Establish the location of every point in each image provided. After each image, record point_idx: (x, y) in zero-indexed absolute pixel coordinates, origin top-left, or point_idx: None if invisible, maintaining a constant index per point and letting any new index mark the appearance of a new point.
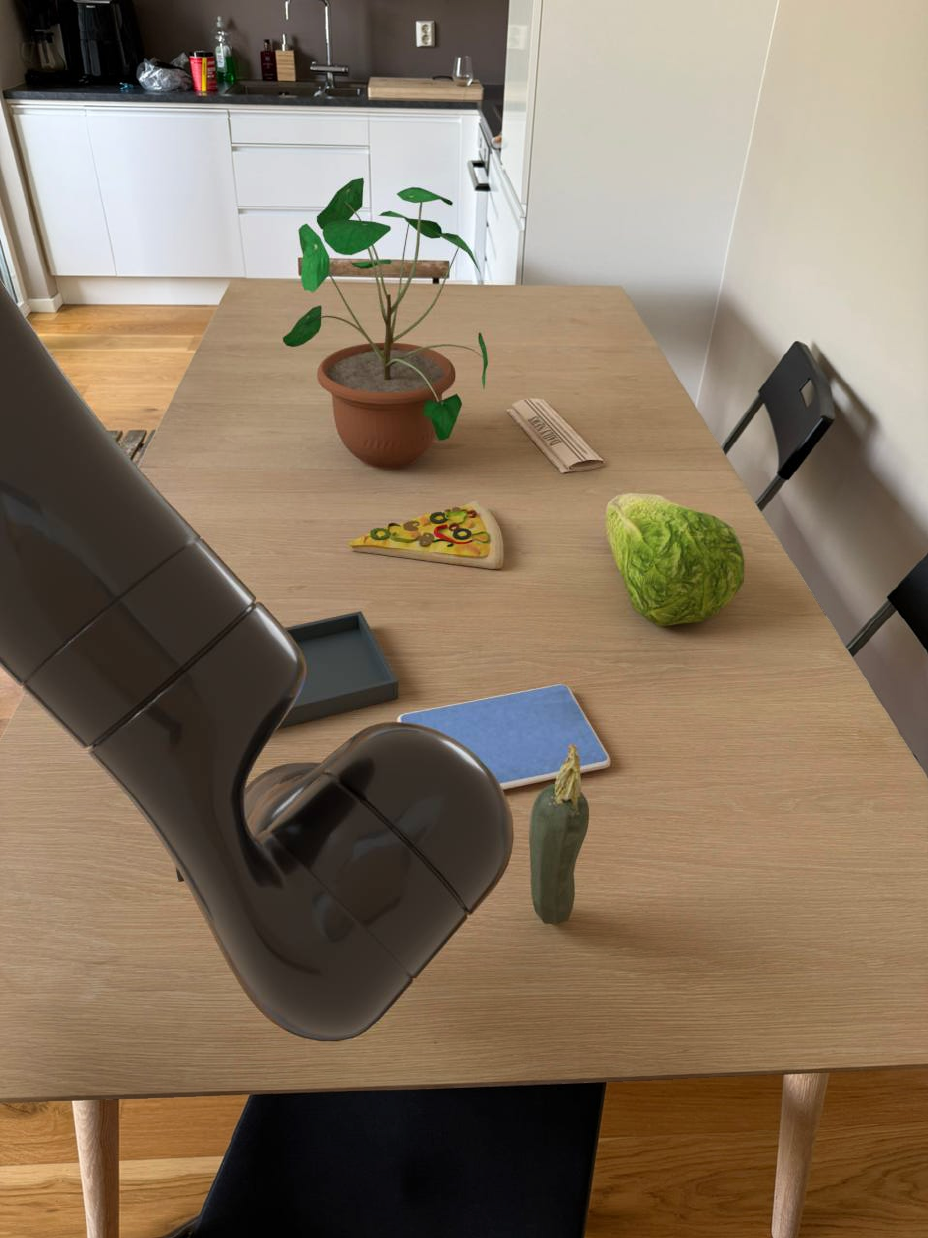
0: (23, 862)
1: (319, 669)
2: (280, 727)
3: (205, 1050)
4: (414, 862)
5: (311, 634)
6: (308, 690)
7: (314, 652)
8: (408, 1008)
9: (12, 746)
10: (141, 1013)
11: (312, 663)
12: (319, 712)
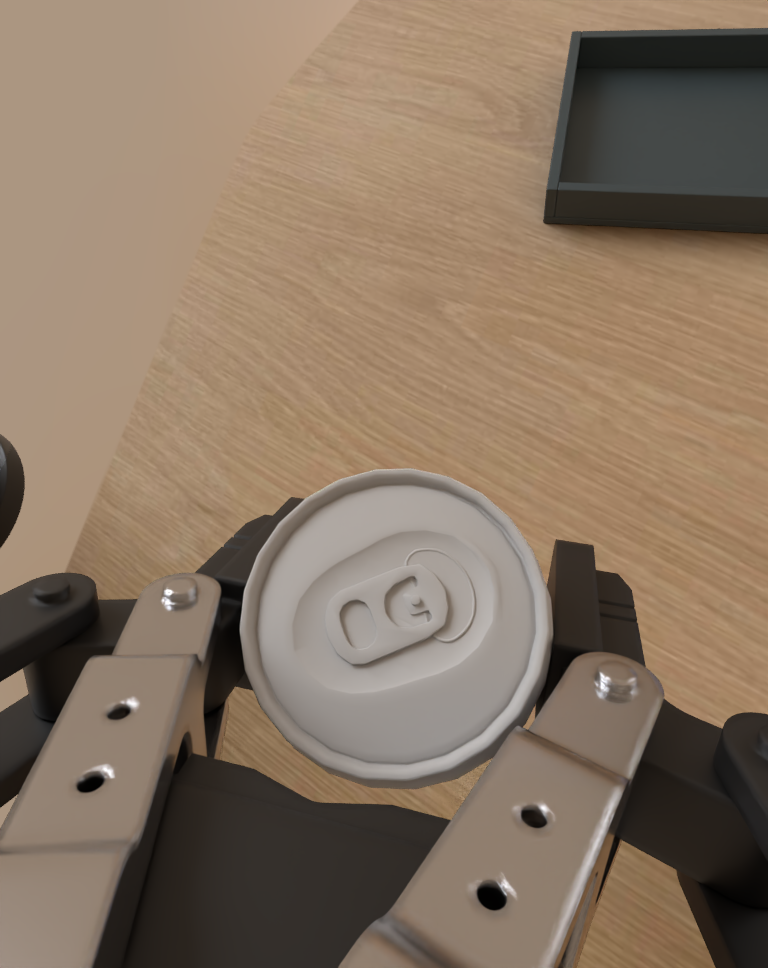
0: (188, 309)
1: (738, 132)
2: (619, 224)
3: (266, 738)
4: None
5: (755, 57)
6: (699, 168)
7: (743, 96)
8: (604, 892)
9: (249, 131)
10: None
11: (730, 117)
12: (701, 218)
